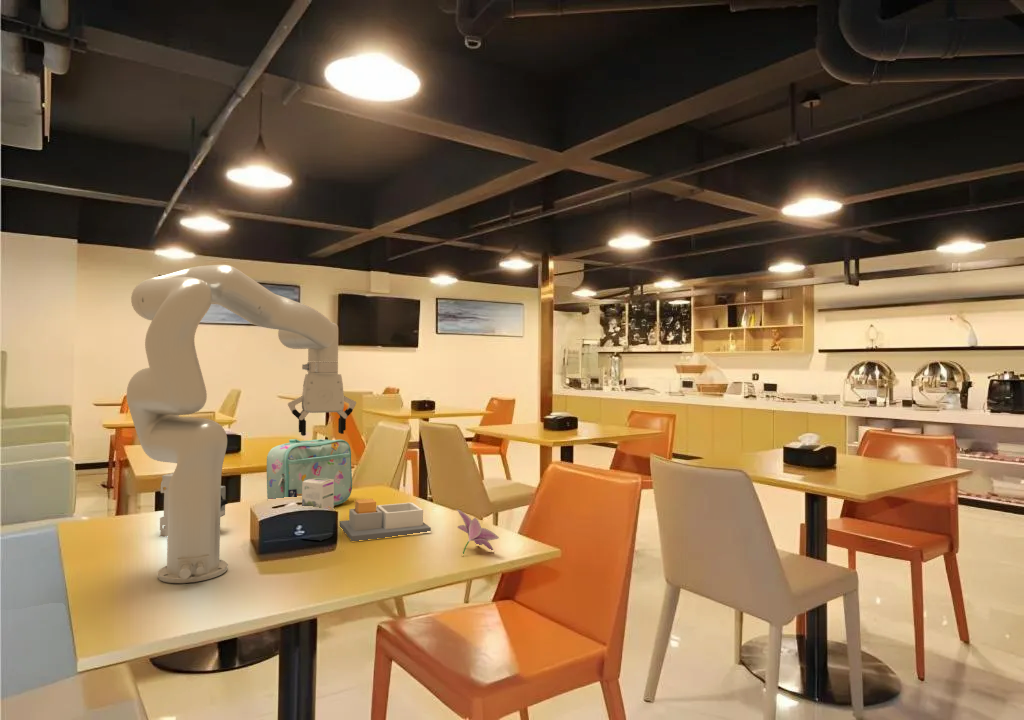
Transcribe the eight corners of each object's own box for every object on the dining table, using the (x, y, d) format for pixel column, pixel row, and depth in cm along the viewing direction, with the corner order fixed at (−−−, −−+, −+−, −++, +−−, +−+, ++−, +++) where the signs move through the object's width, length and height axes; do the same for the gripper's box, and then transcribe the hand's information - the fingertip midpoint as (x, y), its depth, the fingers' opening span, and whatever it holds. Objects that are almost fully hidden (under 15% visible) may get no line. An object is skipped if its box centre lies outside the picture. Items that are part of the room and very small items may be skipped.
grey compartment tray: (430, 533, 158) (431, 512, 158) (352, 542, 149) (352, 519, 149) (412, 519, 173) (412, 499, 173) (339, 526, 164) (339, 506, 164)
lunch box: (285, 521, 169) (286, 443, 170) (260, 516, 174) (262, 440, 175) (355, 503, 192) (356, 434, 193) (331, 499, 198) (332, 432, 198)
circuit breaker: (216, 537, 152) (217, 476, 152) (159, 536, 152) (160, 475, 152) (231, 529, 159) (232, 471, 160) (176, 528, 160) (177, 470, 160)
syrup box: (334, 536, 155) (335, 478, 155) (320, 542, 149) (321, 482, 149) (314, 534, 156) (315, 476, 156) (300, 540, 150) (301, 480, 151)
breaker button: (375, 517, 158) (376, 501, 158) (358, 519, 156) (358, 503, 156) (371, 513, 162) (372, 498, 162) (354, 515, 160) (355, 500, 160)
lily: (499, 566, 136) (511, 524, 140) (450, 548, 133) (464, 506, 137) (481, 567, 146) (493, 528, 151) (436, 551, 144) (449, 511, 148)
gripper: (290, 369, 154) (290, 437, 154) (359, 369, 162) (359, 434, 162) (286, 368, 161) (285, 434, 160) (352, 368, 169) (351, 431, 169)
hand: (322, 434), depth 161 cm, fingers open, 9 cm apart
